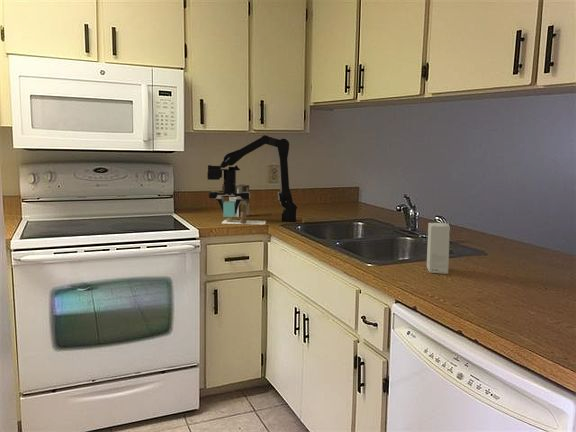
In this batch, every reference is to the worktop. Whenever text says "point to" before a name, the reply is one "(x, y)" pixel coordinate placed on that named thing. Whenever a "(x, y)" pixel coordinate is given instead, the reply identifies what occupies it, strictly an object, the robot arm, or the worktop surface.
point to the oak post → (229, 219)
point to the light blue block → (229, 209)
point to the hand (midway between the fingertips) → (229, 213)
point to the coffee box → (245, 202)
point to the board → (246, 222)
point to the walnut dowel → (243, 217)
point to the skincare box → (438, 247)
